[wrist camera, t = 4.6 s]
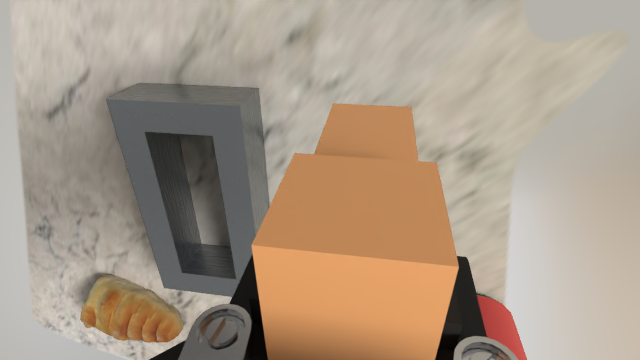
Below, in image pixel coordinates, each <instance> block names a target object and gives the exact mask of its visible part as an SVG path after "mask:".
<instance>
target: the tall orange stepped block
mask: <svg viewBox="0 0 640 360" xmlns="http://www.w3.org/2000/svg"><path fill="white" fill-rule="evenodd" d="M251 246H252V252H253V259H254V266H255V273H256V280H257V287H258V294H259V301H260V308H261V315H262V322H263V329H264V336H265V343H266V350H267V357H268V360H435V358H436V354H437V350H438V346H439V343H440V339H441V335H442V331H443V327H444V323H445V319H446V315H447V311H448V307H449V304H450V300H451V296H452V292H453V288H454V284H455V280H456V276H457V272H458V269H459V265H458V260H457V256H456V251H455V246H454V241H453V237H452V232H451V227H450V223H449V218H448V213H447V209H446V204H445V199H444V195H443V190H442V185H441V180H440V176H439V171H438V166H437V163H435V162H420V161H418V154H417V146H416V139H415V131H414V123H413V115H412V107H395V106H374V105H352V104H333V105H332V108H331V111H330V113H329V116H328V119H327V121H326V124H325V127H324V129H323V132H322V135H321V137H320V140H319V143H318V145H317V148H316V150H315V153H314V154H299V153H295V154H294V156H293V158H292V160H291V162H290V165H289V167H288V169H287V171H286V173H285V175H284V177H283V179H282V181H281V184H280V186H279V188H278V190H277V192H276V194H275V196H274V198H273V201H272V203H271V205H270V207H269V209H268V211H267V213H266V215H265V218H264V220H263V222H262V224H261V226H260V228H259V230H258V232H257V235H256V237H255V239H254V241H253V243H252V245H251Z"/></svg>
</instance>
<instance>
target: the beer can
mask: <svg viewBox="0 0 640 360" xmlns="http://www.w3.org/2000/svg"><path fill="white" fill-rule="evenodd" d="M477 298H478V302H479V306H480V310H481V314H482V318H483V322H484V326H485V330H486V334H487V338H490V339H493V340H496V341H498V342H499V343H501V344H503V345H504V346H506V347H507V348H508V349H509V350H510V351H512V352H513V353H514V354H515V356H516V357H517V358H518V360H527V358H526V355H525V352H524V349H523V346H522V343H521V340H520V337H519V334H518V331H517V328H516V325H515V323H514V320H513V317H512V314H511V312H510V311H509V310H508V309H507V308H506V307H505V306H504V305H503V304H502V303H500V302H498V301H496V300H494V299H492V298H490V297H485V296H481V295H477Z"/></svg>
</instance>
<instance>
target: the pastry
mask: <svg viewBox="0 0 640 360" xmlns="http://www.w3.org/2000/svg"><path fill="white" fill-rule="evenodd" d="M80 320H81V321H82V322H83V323H84V325H85V327H87V328H90V327H95V328H97V329H98V330H100V331H102V332H104V333H106V334H108V335H111V336H113V337H114V338H115V339H118V340H129V339H132V340H143V341H145V342H169V341H171V340H173V339H174V338H175V337H176V336H178V335H179V333H180V332H181V331H182V329H183V320H182V318H181V315H180V313H179V311H178V310H177V309H176V308H175V307H174V306H172V305H169V304H168V303H166V302H165V301H164V300H163V299H161V298H160V297H159V296H158V295H157V294H155V293H154V292H153V291H151V290H147V289H145V288H143V287H141V286H139V285H136V284H134V283H132V282H130V281H128V280H126V279H123V278H121V277H118V276H114V275H106V276H101V277H99V278H98V279H97V281H96V282H95V284H94V285H93V287H92V289H91V290H90V292H89V296H88V298H87V300H86V302H85V304H84V305H83V307H82V312H81V318H80Z"/></svg>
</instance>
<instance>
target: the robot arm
mask: <svg viewBox="0 0 640 360" xmlns="http://www.w3.org/2000/svg"><path fill="white" fill-rule="evenodd" d="M457 260H458V265H459V269H458V272H457V276H456V280H455V284H454V288H453V292H452V296H451V300H450V304H449V307H448V311H447V315H446V319H445V323H444V327H443V331H442V335H441V339H440V343H439V346H438V350H437V354H436V358H435V360H518V358H517V357H516V356H515V354H514V353H513V352H512V351H510V350H509V349H508V348H507V347H506V346H504V345H503V344H501V343H499V342H498V341H496V340H493V339H490V338H487V334H486V330H485V326H484V322H483V318H482V314H481V310H480V306H479V302H478V298H477V294H476V290H475V286H474V282H473V278H472V274H471V270H470V265H469V262H468V259H467V258H466V257H460V256H457ZM149 360H268V357H267V350H266V343H265V336H264V329H263V322H262V315H261V308H260V301H259V294H258V287H257V280H256V273H255V266H254V259H253V253H252V255H251V258H250V260H249V262H248V264H247V266H246V269H245V271H244V273H243V275H242V277H241V280H240V282H239V284H238V286H237V288H236V291H235V293H234V295H233V297H232V299H231V302H230V304H221V305H217V306H214V307H211V308H210V309H208V310H206V311H205V312H203V313H202V314H201V315H200V316H199V317H198V318H197V319H196V321H195V322H194V324H193V326H192V327H191V330H190V332H189V335H188V337H187V339H186V340H185V341H183V342H181V343H179V344H178V345H176V346H174V347H172V348H170V349H168V350H166V351H164V352H163V353H161V354H159V355H157V356H155V357H153V358H151V359H149Z"/></svg>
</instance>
